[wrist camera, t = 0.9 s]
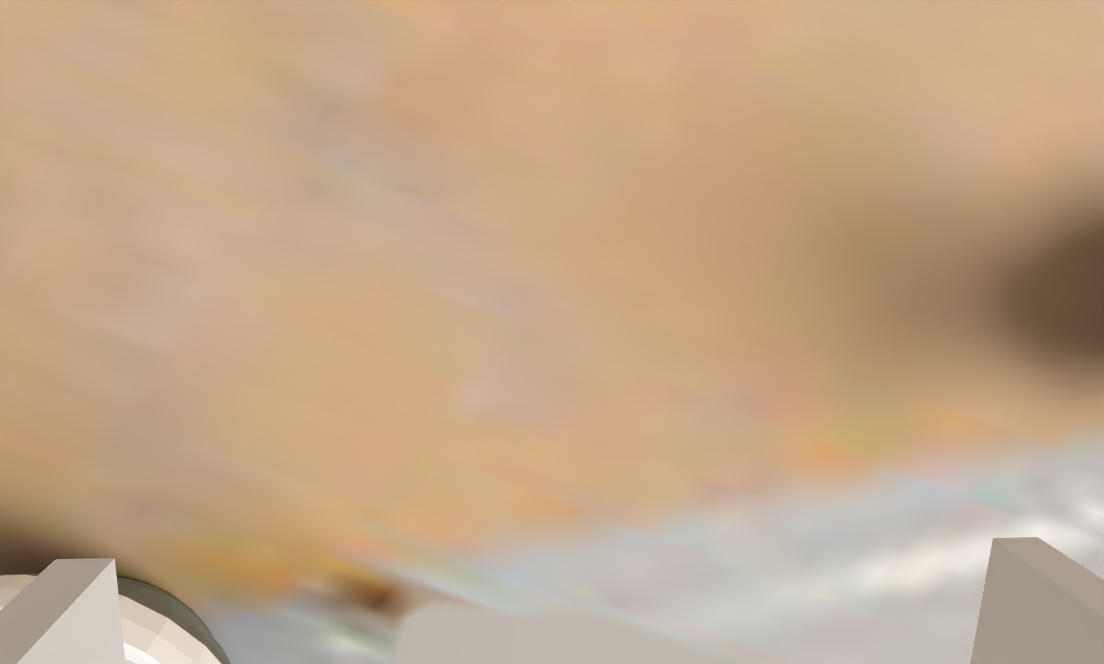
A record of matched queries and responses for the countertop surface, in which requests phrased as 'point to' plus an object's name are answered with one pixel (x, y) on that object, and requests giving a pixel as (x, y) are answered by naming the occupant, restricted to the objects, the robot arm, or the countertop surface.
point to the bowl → (147, 624)
